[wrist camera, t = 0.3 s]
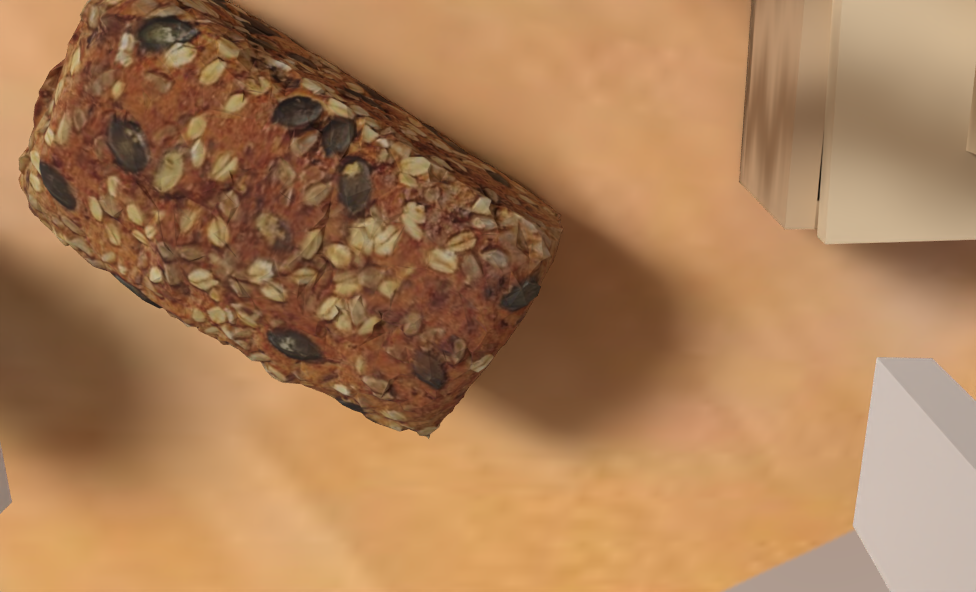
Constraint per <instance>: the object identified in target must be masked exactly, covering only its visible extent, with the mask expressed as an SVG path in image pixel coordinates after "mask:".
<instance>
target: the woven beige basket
mask: <svg viewBox="0 0 976 592" xmlns="http://www.w3.org/2000/svg"><path fill="white" fill-rule="evenodd" d="M832 2H833V0H752V4H751V18H750V33H749V47H748V62H747V76H746V91H745V106H744V120H743V135H742V149H741V164H740V178H739V182H740V183H741V184H742V185H743V186H744V187H745V189H746V190H747V191H748V192H749V193H750V194H751V195H752V196H753V197H754V198H755V199H756V200H757V201H758V202H759V203H760V204H761V205H762V206H763V207H764V208H765V209H766V210H767V211H768V212H769V213H770V214H771V216H772V217H773V218H774V219H775V220H776V221H777V222H778V223H779V224H780V225H781V226H782V227H783V228H784V229H818V215H819V200H820V184H821V169H822V154H823V139H824V124H825V109H826V93H827V78H828V63H829V48H830V33H831V17H832Z"/></svg>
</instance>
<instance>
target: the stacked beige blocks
mask: <svg viewBox="0 0 976 592" xmlns="http://www.w3.org/2000/svg"><path fill="white" fill-rule="evenodd" d="M817 237H818V238H819V239H820V240H821V241H822V242H823V243H824V244H850V243H882V242H914V241H947V240H976V0H833V2H832V17H831V33H830V48H829V63H828V78H827V93H826V109H825V124H824V139H823V154H822V169H821V184H820V200H819V215H818V230H817Z"/></svg>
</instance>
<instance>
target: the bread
mask: <svg viewBox="0 0 976 592" xmlns="http://www.w3.org/2000/svg"><path fill="white" fill-rule="evenodd" d="M80 16H81V21H80V23H79V25H78V27H77V29H76V31H75V33H74V35H73V36H72V38H71V40H70V42H69V44H68V49H67V54H66V59H64V60H63V61H62V62H60V63H59V64H58V65H56V66H55V67H54V68H53V69H52V70H51V71H50V72H49V74H48V76H47V78H46V80H45V82H44V84H43V86H42V87H41V89H40V91H39V97H38V100H37V102H36V104H35V109H34V119H33V120H34V128H33V131H32V134H31V136H30V139H29V146H28V148H27V149H26V150H25V151H24V153H23V154H22V155H21V157H20V158H19V170H20V171H21V174H20V177H19V182H20V186H21V189H22V190H23V191H24V193H25V194H26V196H27V199H28V202H29V208H30V210H31V211H32V213H33V214H34V215H35V216H37V217H38V218H39V219H40V221H41V222H42V223H43V224H44V225H46V226H47V227H48V228H49V229H50V230H51V231H52V232H53V233H54V234H55V235H56V236H57V238H58V239H59V240H60V241H61V242H62V243H63V244H64V245H65V246H68V245H70V246H71V247H72V248H73V249H74V250H76V251H77V252H78V253H79V254H80V255H81V256H82V257H83V258H84V259H85V260H86V261H87V262H88V263H90V264H91V265H92V266H94V267H96V268H100V269H103V270H106V271H109V272H110V273H111V274H112V275H113V276H115V277H116V278H117V279H118V280H119V281H120V282H121V283H122V284H123V285H125V286H126V287H127V288H128V289H130V290H131V291H132V292H133V293H135V294H136V295H137V296H138V297H140V298H141V299H142V300H144V301H146V302H148V303H150V304H152V305H154V306H156V307H157V308H159V309H160V308H164V309H165V310H166V311H167V312H168V313H169V315H170V316H172V317H175V318H177V319H179V320H180V321H182V322H183V323H184V324H185V325H186V326H187V327H197V328H198V330H199V331H201V332H203V333H204V334H207V335H209V336H211V337H214V338H216V339H218V340H219V341H220V342H221V343H222V344H223V345H231V346H233V347H235V348H237V349H239V350H240V351H241V352H242V353H243V354H245V355H246V356H247V357H248V358H249V359H250V360H252V361H261V363H262V365H263V366H264V368H265V370H266V372H268V373H269V374H270V375H271V376H272V377H273V378H275V379H277V380H278V381H280V382H284V383H296V384H302V385H304V386H307V387H309V388H312V389H315V390H318V391H320V392H323V393H325V394H327V395H329V396H331V397H333V398H335V399H336V400H337V401H339V402H340V403H341V404H342V405H344V406H346V407H348V408H350V409H352V410H354V411H358V412H361V413H362V414H363V415H364V416H365V417H366V418H368V419H369V420H371V421H373V422H375V423H377V424H380V425H383V426H386V427H389V428H392V429H394V430H397V431H403V430H407V429H410V430H413V431H416V432H417V433H418V434H419V435H420V436H427V437H428V439H429V437H430V434H431V433H432V432H433V431H435V430H436V429H437V428H438V427H439V426H440V423H441V422H442V420H443V419H444V418H445V417H446V416H447V415H448V414H449V413H451V412H452V411H453V409H454V407H455V405H457V404H458V403H459V402H460V400H461V399H462V398H463V397H464V394H465V393H466V391H467V389H468V388H469V386H470V385H471V384H472V383H473V382H474V381H475V380H476V379H477V378H478V377H479V375H480V374H481V373H482V372H483V371H484V370H485V369H486V367H487V366H488V365H489V364H490V362H491V361H492V359H493V358H494V356H495V355H496V354H497V352H498V351H499V349H500V348H501V347H502V346H504V345H505V343H506V342H507V341H508V339H509V338H510V336H511V335H512V333H513V332H514V331H515V329H516V328H517V326H518V325H519V324H520V322H521V321H522V319H523V318H524V316H525V315H526V313H527V311H528V309H529V307H530V306H531V304H532V302H533V299H534V298H535V297H536V296H537V295H538V293H539V290H540V288H541V286H540V284H541V282H542V280H543V278H544V276H545V274H546V273H547V271H548V269H549V268H550V266H551V264H552V263H553V261H554V257H555V254H556V251H557V247H558V244H559V240H560V234H561V233H562V231H563V228H562V226H561V225H560V222H561V219H559V218H560V216H561V215H560V214H558V213H557V212H556V211H554V210H553V209H552V207H550V206H548V205H547V204H545V203H544V202H543V201H541V200H540V199H539V198H537V197H536V196H535V195H533V194H532V193H531V192H529V191H528V190H526V189H525V188H523V187H522V186H521V185H519V184H518V183H516V182H515V181H513V180H510V179H509V178H508V177H507V176H506V175H504V174H503V173H501V172H500V171H498V170H496V169H495V168H494V167H492V166H490V165H488V164H487V163H485V162H483V161H481V160H479V159H477V158H475V157H473V156H471V155H469V154H468V153H466V152H465V151H464V150H462V149H461V148H460V147H458V146H457V145H456V144H454V143H453V142H452V141H450V140H449V139H447V138H446V137H443V136H441V135H439V134H438V133H437V132H436V131H435V130H434V128H433V127H430V126H428V125H425V124H423V123H420V122H419V121H418V120H417V119H416V118H414V117H413V116H411V115H410V114H408V113H407V112H406V111H404V110H403V109H401V108H400V107H399V106H397V105H396V104H394V103H392V102H389V101H387V100H385V99H384V98H383V97H381V96H380V95H378V94H377V93H376V92H375V91H373V90H372V89H370V88H368V87H367V86H365V85H364V84H362V83H360V82H359V81H357V80H355V79H354V78H352V77H350V76H349V75H347V74H346V73H344V72H343V71H341V70H339V69H338V68H337V67H335V66H333V65H332V64H330V63H328V62H327V61H325V60H324V59H322V58H320V57H319V56H317V55H315V54H313V53H311V52H309V51H307V50H305V49H303V48H302V47H300V46H299V45H297V44H296V43H294V42H293V41H292V40H291V39H290V38H289V37H288V36H287V35H285V34H283V33H281V32H279V31H277V30H276V29H274V28H272V27H271V26H269V25H267V24H266V23H264V22H262V21H261V20H259V19H255V18H251V17H249V16H248V15H247V14H246V12H245V11H244V10H242V9H240V8H238V7H236V6H234V5H232V4H230V3H228V2H226V1H224V0H89V1H88V2H87V3H86V5H85V6H84V8H83V10H82V12H81V14H80Z"/></svg>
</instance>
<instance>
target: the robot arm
mask: <svg viewBox="0 0 976 592" xmlns="http://www.w3.org/2000/svg"><path fill="white" fill-rule="evenodd" d="M11 503H12V500H11V495H10V490H9V485H8V480H7V474H6V469H5V464H4V459H3V454H2V448H1V443H0V513H1V512H2V511H3V510H4V509H5V508H7V507H8V506H9V505H10V504H11ZM853 527H854V529H855V530H856V532H857V534H858V536H859V537H860V539H861V541H862V543H863V544H864V546H865V548H866V550H867V552H868V553H869V555H870V557H871V559H872V560H873V562H874V564H875V566H876V568H877V569H878V571H879V573H880V574H881V576H882V578H883V580H884V582H885V584H886V585H887V587H888V589H889V590H890V592H976V401H975V400H974V399H973V398H972V397H971V396H970V395H969V394H968V393H967V392H966V391H965V390H964V389H963V388H962V387H961V386H960V385H959V384H958V383H957V382H956V381H955V380H954V379H953V378H952V377H951V376H950V375H949V374H948V373H947V372H946V371H945V370H944V369H943V368H942V367H941V366H939V365H938V364H937V363H936V362H935V361H934V360H933V359H932V358H887V357H877V360H876V367H875V374H874V381H873V388H872V395H871V402H870V409H869V416H868V423H867V430H866V437H865V444H864V451H863V458H862V466H861V473H860V480H859V487H858V494H857V501H856V508H855V515H854V522H853Z"/></svg>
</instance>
